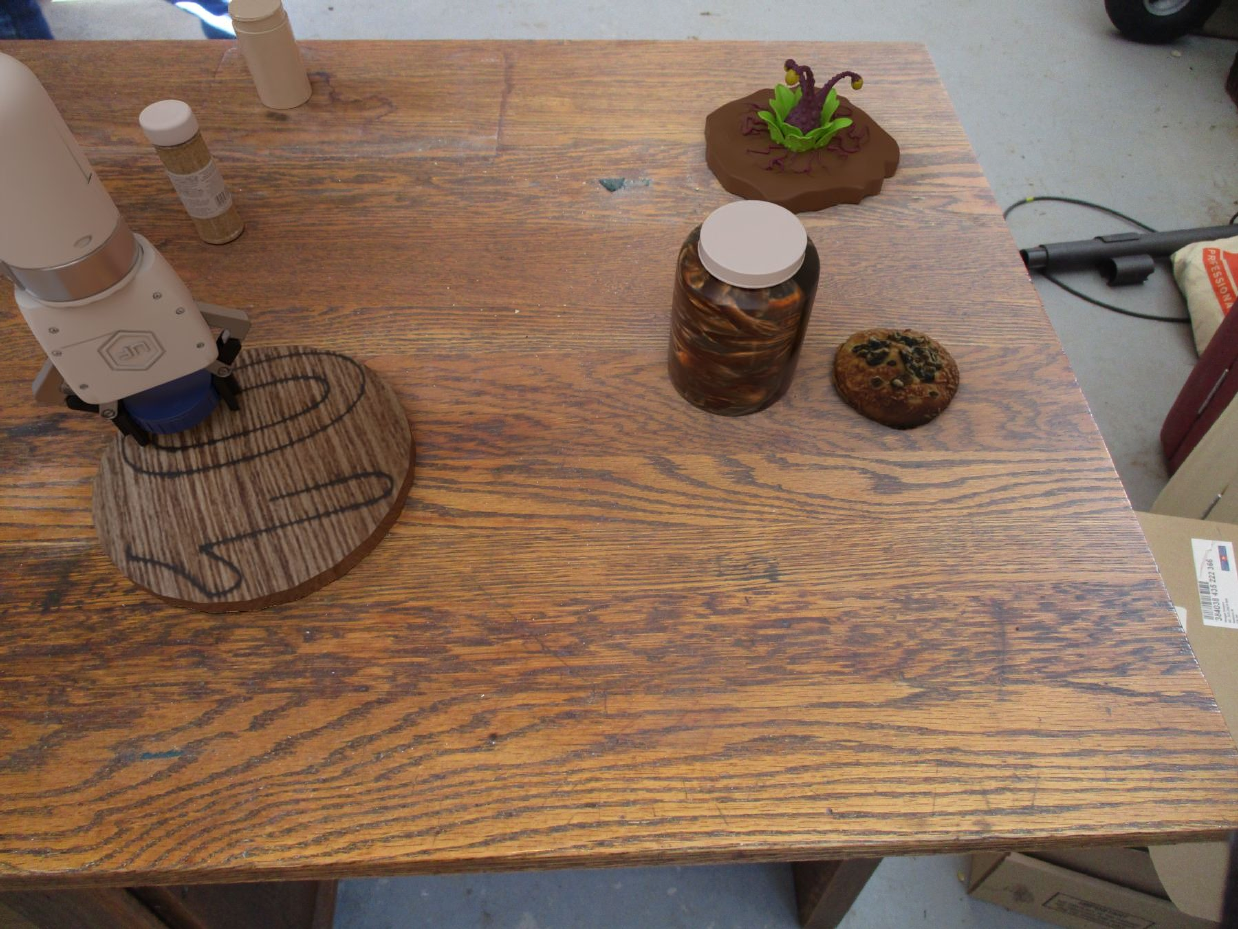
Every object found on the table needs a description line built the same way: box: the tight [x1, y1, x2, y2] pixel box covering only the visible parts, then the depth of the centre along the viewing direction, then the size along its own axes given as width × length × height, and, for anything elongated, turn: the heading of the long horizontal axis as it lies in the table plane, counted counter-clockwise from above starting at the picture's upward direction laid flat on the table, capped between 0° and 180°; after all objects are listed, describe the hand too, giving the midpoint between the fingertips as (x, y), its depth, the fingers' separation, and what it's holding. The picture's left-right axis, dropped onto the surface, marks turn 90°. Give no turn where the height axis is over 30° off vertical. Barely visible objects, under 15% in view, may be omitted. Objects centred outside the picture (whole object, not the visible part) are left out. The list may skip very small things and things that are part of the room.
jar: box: [667, 199, 821, 417], centre depth 69 cm, size 12×12×15 cm
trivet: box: [91, 344, 417, 613], centre depth 68 cm, size 25×25×2 cm
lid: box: [122, 369, 220, 434], centre depth 67 cm, size 7×7×2 cm
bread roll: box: [831, 327, 961, 431], centre depth 73 cm, size 11×11×5 cm
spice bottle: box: [138, 99, 245, 245], centre depth 80 cm, size 5×5×13 cm
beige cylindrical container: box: [227, 0, 313, 110], centre depth 94 cm, size 6×6×11 cm
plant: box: [704, 58, 901, 215], centre depth 88 cm, size 20×20×11 cm
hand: (187, 414), depth 69 cm, fingers closed on lid, 6 cm apart
